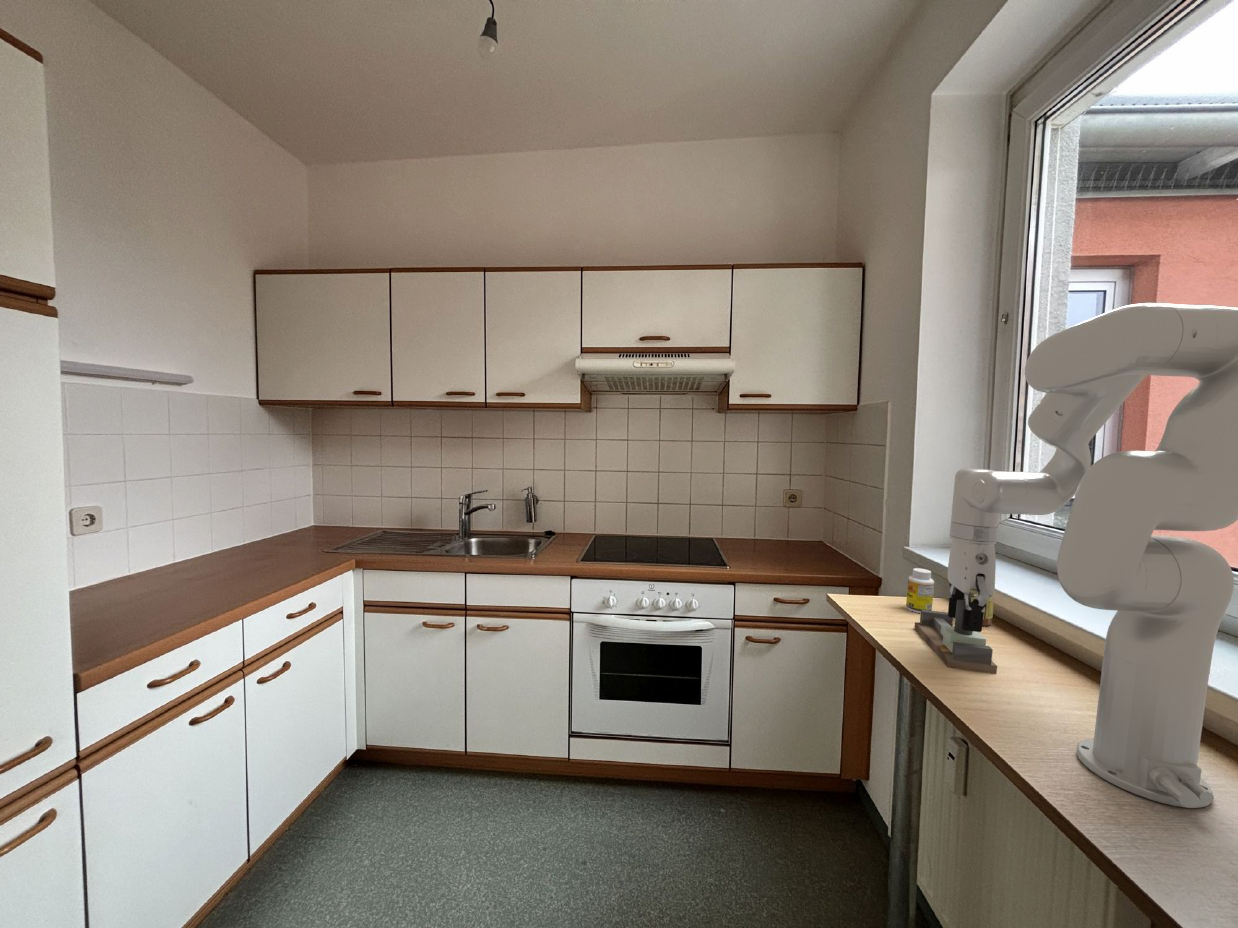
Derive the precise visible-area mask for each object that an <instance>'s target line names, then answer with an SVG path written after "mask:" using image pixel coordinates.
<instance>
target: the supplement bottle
mask: <svg viewBox="0 0 1238 928" xmlns="http://www.w3.org/2000/svg"><path fill="white" fill-rule="evenodd" d="M934 589H935V580H934V579H933V578H932V571H931V570H929V569H926V568H919V567H915V568H913V569H912V575H909V576H908V578H907V593H906V600H905V601H906V603H905V607H906V609H907V610H908V609H909V610H908V611H910V612H912V611H913V612H912V613H915V612H916V613H915V614H920V613H921V610H930V611H933V602H934V601H933V599H934V592H935V591H934Z"/></svg>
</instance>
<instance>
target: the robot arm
mask: <svg viewBox="0 0 1238 928" xmlns="http://www.w3.org/2000/svg"><path fill="white" fill-rule="evenodd" d="M1024 376H1025V381H1026V382H1027V385H1028V386H1030V388H1032V389H1033V390H1035V391H1037V392H1041V393H1045V395H1044V396H1043V397H1042V398H1041V400H1040V401H1039V403H1037V406H1036V407H1034V409H1033V410H1032V412H1031V413H1030V415H1029V416H1028V418H1027V425H1028V428H1029V429H1030V431H1031V432H1032V434H1033V435H1035V437H1037V438H1038V439H1039V440H1041V441H1042V442H1044V443H1046V444H1047V445H1049V446H1051V447H1052V448H1055V451H1054V454H1053V456H1052V457H1051V459H1050V460H1049V461H1048V462H1047V464H1046V465H1045V466H1044V467H1043V468H1042V469H1041V470H1040V471H1039V472H1034V471H1033V472H1031V471H1030V472H1029V471H1002V470H1001V471H1000V470H993V469H985V468H968V467H967V468H960V469H958V471H957V472H956V473H955V474H954V476H955V477H954V481H953V483H954V486H953V495H952V504H951V515H950V516H951V518H950V526H949V527H950V528H949V537H948V538H949V539H951V545H950V551H949V557H948V563H947V564H948V565H947V580H948V582H949V587H950V589H949V591H948V595H949V599H948V608H947V609H948V610H947V612H948V616H949V617H950V618H953V619H955V615H956V605H957V600H965V601H966V609H963V620H962V629H963V630H965V631H974V632H978V633H981V632H982V631H983V626H982V625H983V615H984V612H985V606H986V605H987V602H988V601H989V597H992V596H993V595H994V596H995V588H996V568H997V567H996V565H997V563H996V548H995V545H996V544H997V536H998V526H999V517H1000V515H1001V514H1002V515H1030V516H1046V515H1050V514H1052V513H1053V514H1054V513H1055V512H1057V511H1059V510H1061V509H1062V508H1063V507H1064V506H1065V505H1067V504H1068V503H1069V501H1070V500H1071V499H1073V497H1074V499H1073V501H1072V505H1071V507H1070V508H1071V509H1070V512H1069V515H1068V518H1067V521H1066V522H1067V523H1066V525H1065V528H1064V532H1063V535H1062V540H1061V541H1060V542H1061V543H1060V545H1059V546H1060V547H1059V550H1058V554H1057V559H1056V561H1057V562H1056V572H1057V578H1058V581H1059V583H1060V587H1062V589H1063V591H1064V592H1065V593H1066V595H1068V597H1069V598H1071V599H1072V600H1073V601H1075V602H1076V603H1078V604H1080V605H1082V606H1084V607H1087V608H1091V609H1095V610H1096V609H1097V610H1104V611H1116V613H1115V614H1114V616H1113V617H1112V619H1111V621H1110V624H1109V625H1108V628H1107V632H1106V635H1105V641H1104V642H1105V644H1104V649H1103V650H1104V651H1103V657H1102V664H1101V665H1102V667H1101V675H1100V684H1099V691H1098V701H1097V702H1098V703H1097V709H1096V717H1095V727H1094V734H1093V738H1086V739H1083V740H1080V741H1079V742H1078V743H1077V745H1076V746H1077V747H1076V755H1077V757H1078V760H1080V761H1081V763H1082V764H1083V765H1084V766H1085V767H1086V768H1087V769H1089V770H1090V771H1091V772H1092V773H1094V774H1095V775H1097V776H1098V777H1101V778H1102V779H1104V780H1105V781H1106V782H1108V783H1111V784H1112V785H1115V786H1116V787H1119V788H1121V789H1123V790H1125V791H1127V792H1130V793H1132V794H1134V795H1136V796H1139V797H1143V798H1145V799H1148V800H1151V801H1155V802H1158V803H1160V804H1166V805H1169V806H1173V807H1178V808H1179V807H1180V808H1187V809H1199V808H1204V807H1207V806H1209V805H1210V804H1211V803H1213V802H1214V800H1215V798H1214V797H1215V796H1214V795H1213V789H1212V788H1211V786H1210V785H1209V784H1208V783H1207V782H1206V781H1205V780H1204V779H1203V778H1202V768H1201V767H1199V766H1198V760H1199V759H1198V758H1199V752H1200V745H1201V738H1202V731H1203V723H1204V715H1205V708H1206V699H1207V694H1208V685H1209V677H1210V672H1211V666H1212V660H1213V653H1214V647H1215V642H1216V638H1217V634H1218V631H1219V629H1220V628H1219V627H1220V625H1221V622H1222V620H1223V618H1224V616H1225V614H1226V611H1227V609H1228V607H1229V605H1230V603H1231V599H1232V597H1233V594H1234V590H1235V589H1234V588H1235V587H1234V585H1235V577H1234V573H1233V570H1232V568H1231V566H1230V564H1229V562H1228V561H1227V559H1226V558H1225V557H1224V556H1223V555H1222V554H1221V553H1220V552H1218V550H1216V549H1214V547H1211V546H1209V545H1207V544H1205V543H1203V542H1201V541H1198V540H1194V539H1191V538H1185V537H1181V536H1173V535H1162V534H1161V535H1157V534H1155V535H1154V534H1153V533H1154V531H1173V532H1210V531H1219V530H1223V529H1226V528H1228V527H1230V526H1232V525H1233V524H1235V522H1237V521H1238V307H1232V306H1230V307H1229V306H1220V305H1219V306H1217V305H1202V304H1201V305H1199V304H1198V305H1197V304H1196V305H1195V304H1178V303H1177V304H1175V303H1161V302H1157V303H1156V302H1145V303H1134V304H1133V303H1132V304H1127V305H1124V306H1121V307H1118V308H1115V309H1112V310H1109V311H1106V312H1104V313H1102V314H1100V315H1097V316H1095V317H1092V318H1088V319H1087V320H1084V321H1082V322H1080V323H1077V324H1074V325H1072V326H1069V327H1067V328H1064V329H1061V330H1060V331H1058V332H1055V333H1053V334H1052V335H1051V334H1050V336H1048V337H1046V338H1045V339H1043V340H1042V341H1041V342H1040V343H1038V344H1037V346H1036V347H1035V348H1034V349H1033V350H1032V351H1031V352H1030V355H1029V356H1028V357H1027V359H1026V363H1025V367H1024ZM1146 376H1159V377H1184V378H1187V377H1188V378H1194V379H1196V380H1198V382H1199V383H1198V384H1197V385H1196V386H1195V387H1194V388H1192V389H1191V390H1189V392H1187V394H1185V395H1184V397H1183V398H1182V399H1180V401H1178V403H1177V404H1176V406H1175V407H1174V408H1173V410H1172V411H1171V412H1170V415H1169V416H1168V417H1167V422H1166V424H1165V428H1164V432H1163V434H1162V437H1161V440H1160V442H1159V444H1158V446H1157V447H1156V449H1155V450H1154V451H1151V450H1150V451H1149V450H1148V451H1146V450H1125V451H1117V452H1114V453H1110V454H1108V455H1105V456H1103V457H1101V458H1100V459H1098V460H1097V461H1095V462H1094V463H1093V464H1091V462H1092V455H1091V450H1090V445H1089V443H1090V441H1091V440H1092V439H1093V438H1094V437H1095V436H1096V434H1097V433H1098V432H1099V431H1100V430H1101V428H1102V427H1103V426H1104V425H1105V424H1106V423H1107V422H1108V420H1109V419H1110V418H1112V416H1113V414H1115V412H1116V411H1117V410H1118V409H1119V408H1120V407H1121V405H1122V404H1123V403H1124V402H1125V401H1126V400H1127V399H1128V398H1129V396H1130V395H1131V394H1132V393H1133V391H1134V390H1135V389H1136V388H1137V387H1138V386H1139V385H1140V383H1141V382H1142V381H1143V380H1144V378H1145V377H1146ZM970 591H977V592H978V594H974V593H971V592H970ZM971 597H974V598H977V599H974V600H973V601H972V603H971ZM964 598H965V599H964Z"/></svg>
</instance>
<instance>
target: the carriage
mask: <svg viewBox="0 0 1238 928" xmlns="http://www.w3.org/2000/svg"><path fill="white" fill-rule="evenodd" d="M971 603H972V602H971ZM963 609H966V601H965V600H957V605H956V615H955V618H954V625H953V627H949V626H941V634H942V635H943V644H944V645H945V646H946V647H947V648H948V649H949V650H950V651H951V652H952V650H953V642H959V643H967V644H976V645H984V646H987V645H986V643H987V638H986V637H984V636H983V635H982V634H981V632H974V631H965V630H963V629H962V620H963Z"/></svg>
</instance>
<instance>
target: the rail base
mask: <svg viewBox="0 0 1238 928" xmlns="http://www.w3.org/2000/svg"><path fill="white" fill-rule="evenodd" d="M953 624H954V618H950V617H949V616H948V611H947V612H945V611H937V610H932V611H930V610H921V614H920V618H919V622H918V621H916V622H915V621H914V630H915V631H916V632H917V634H919V636H920V637H921V638H922V640H923V641H925V643H926V644H928V645H927V646H929V647H930V648H931V649H932V651H933V652H934V653H935V654H936V655H937V656H938V658H939V659H940V660H941V661H942V662H943V663H944V664H945V666H947V668H950V669H956V670H966V671H972V672H974V671H975V672H980V673H985V674H986V673H989V674H997V673H998V672H997V670H998V665H997V664H996V663H995V662H994V661H992V658H993V648H992V647H991V646H990V645H986V646H984V645H976V644H967V643H959V642H953V650H952V652H951V651H950V650H949V649H948V648H947V647H946V646H945V645H944V644H943V635H942V634H941V626H949V627H954V625H953Z"/></svg>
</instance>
